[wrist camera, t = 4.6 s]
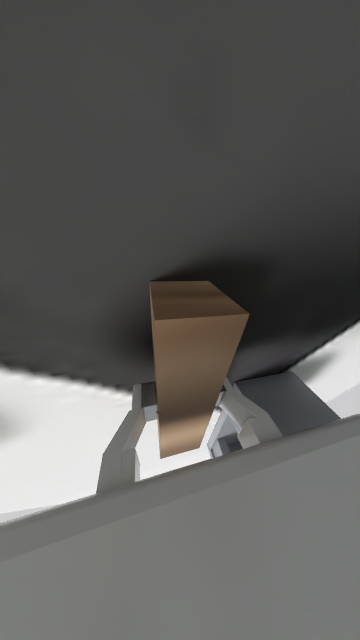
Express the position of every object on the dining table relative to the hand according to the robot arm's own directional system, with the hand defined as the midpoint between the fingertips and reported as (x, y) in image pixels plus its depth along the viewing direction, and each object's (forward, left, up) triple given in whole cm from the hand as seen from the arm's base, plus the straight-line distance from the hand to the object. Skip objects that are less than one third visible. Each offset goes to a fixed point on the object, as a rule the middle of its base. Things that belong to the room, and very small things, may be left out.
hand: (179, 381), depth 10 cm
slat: (0, 0, -2) cm, 2 cm away
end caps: (-11, +14, -2) cm, 18 cm away
